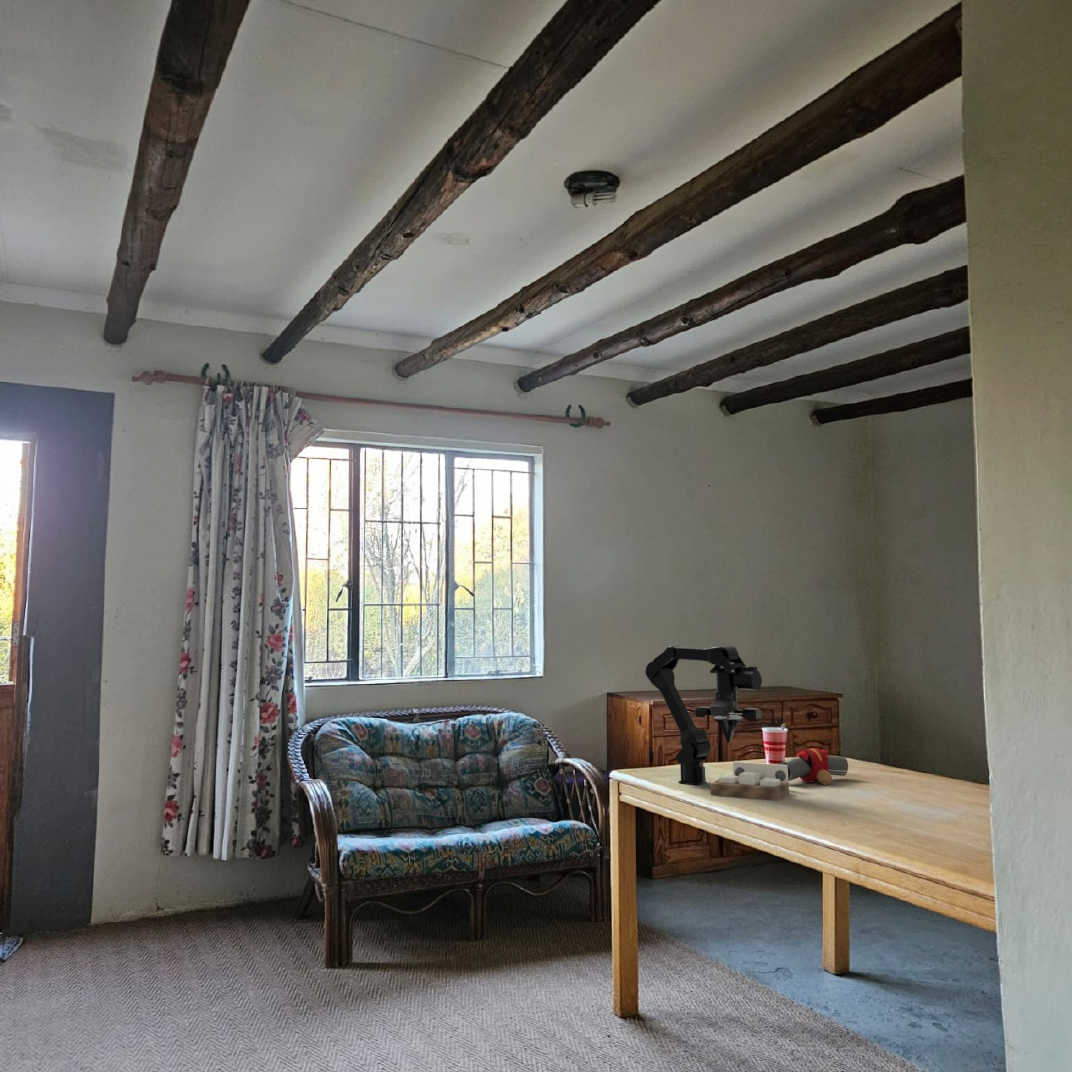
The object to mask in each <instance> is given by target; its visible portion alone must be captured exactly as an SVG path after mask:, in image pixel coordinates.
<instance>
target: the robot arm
mask: <svg viewBox="0 0 1072 1072" xmlns="http://www.w3.org/2000/svg"><path fill="white" fill-rule="evenodd" d="M740 656H741V655H739V651H738V649H737V648H736V647H735V646H733V645H722V646H714V647H708V648H706V647H691V646H680V645H670V646H668V647H667V648H666V649H664V650H663V652H661V653H660V654H658V656H656V657H655V658H654V659H653V660H652V661H651V662H648V664H647V665H646V666H645V670H644V672H645V676H646V677H647V679H648V680H649V682H650V683H651V684H652V686H654V687H655V688H656V689H658V691H659V692H660V694H661V695H662V697H663V700H664V701H665V704H666V706H667V708H668V710H669V713H670V715H671V717H672V718H673V721H674V723H675V724H676V726H677V729H678V730H679V733H680V734H679V735H680V736H679V737H680V738H679V739H680V740H679V741H680V742H679V743H680V746H681V749H680V750H679V752H677V754H676V755H675V759H676V761H677V763H678V764H679V765H680V766H679V767H680V780H678V783H679V784H688V785H700V784H703V783H705V782H706V781H707V779H706V767H705V766H704V761H707V758H708V755H709V753H710V752H711V749H712V747H711V746H712V745H711V739H710V738H709V737H708V735H707V731H706V730H705V728H701V729H699V728H698V727H696V725H695V724H694V720H693V719H692V718H691V715H690V713H689V711H688V709H687V707H686V705H685V703H684V701H683V699H682V697H681V695H680V693H679V691H678V690H677V689H678V688H677V686H676V685H675V678H676V677H675V673H674V670H675V669H676V668H677V666H678V664H679V661H680V660H689V661H701V662H702V661H703V662H707V663H709V664H711V665H714V666H713V667H712V668H711V669H710V670H709V673H710V674H715V675H716V676H715V677H716V692H715V698H714V700H713V701H712V702H711V703H710V705H705V706H704V705H701V706H698V707H696V708H695V710H694V717H695V718H705V717H707V716H711V717H713V719H712V720H713V721H714V722H717V723H718V725H719V727H720V728H721V731H722V733H723V735H724V738H725V741H726V743H728V744H730V743H731V742H732V740H733V738H734V737H733V736H734V734H735V731H736V728H737V726H738V724H739V722H740V721H743V718H744V720H754V721H755V720H758V719H762V717H763V715H762V710H761V708H759V707H746V708H743V709H739V708H740V707H739V705H738V696H739V692H738V690H743V691H745V690H746V691H747V690H748V691H758V690H760V688H761V686H762V683H763V678H762V675H761V673H760V671H758V666H756V665H754V666H753V665H752V666H747V665H746V664H745V662H744V661H743V660H742V658H741V657H740ZM737 689H738V690H737Z"/></svg>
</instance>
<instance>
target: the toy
mask: <svg viewBox="0 0 1072 1072" xmlns="http://www.w3.org/2000/svg"><path fill="white" fill-rule="evenodd" d="M778 765H788V782H791V781H793V780H795V779H796V780H797V779H799V778H800V780H801V781H802V782H804V783H815V782H816V783H817V782H818V783H820V784H822V785H823V786H828V785H830V784H832V781H833V776H840V777H841V776H843V777H844V776H846V775H847V773H848V771H849V763H848V759H847V758H846V757H845V756H839V755H837V756H836V755H828V752H827V750H826V749H820V748H817V747H816V748H815V747H814V748H801V749H800V750H799V751H798V752H797V753H796V755H795V757H794V758H790V759H787V760H785V761H781V762H780V763H778Z"/></svg>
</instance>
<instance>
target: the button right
mask: <svg viewBox="0 0 1072 1072" xmlns="http://www.w3.org/2000/svg"><path fill="white" fill-rule="evenodd" d="M779 785H781V783H780V779H769V778H764V779H762V780H760V786H770V787H778V786H779Z"/></svg>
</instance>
